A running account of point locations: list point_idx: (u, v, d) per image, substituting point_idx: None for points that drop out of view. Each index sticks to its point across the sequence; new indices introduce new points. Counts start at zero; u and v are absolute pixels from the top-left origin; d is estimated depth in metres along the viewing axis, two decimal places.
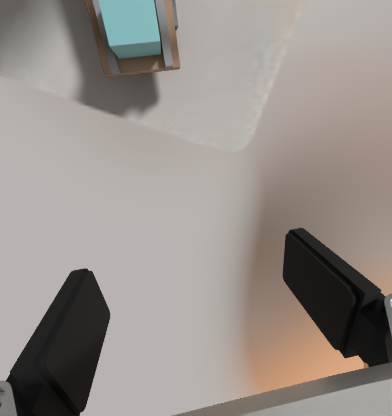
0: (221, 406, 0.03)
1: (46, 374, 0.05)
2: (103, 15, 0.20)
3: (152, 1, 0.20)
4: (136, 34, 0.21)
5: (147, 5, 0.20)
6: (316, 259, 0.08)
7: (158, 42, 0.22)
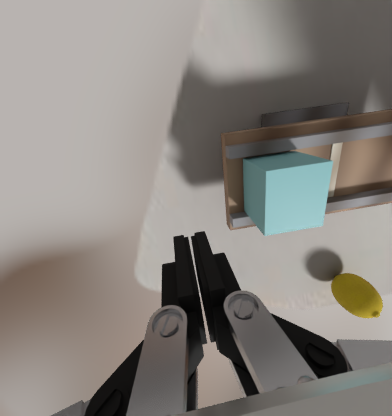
0: (221, 406, 0.03)
1: (197, 303, 0.07)
2: (299, 168, 0.14)
3: (302, 227, 0.17)
4: (274, 208, 0.16)
5: (300, 222, 0.16)
6: (196, 260, 0.08)
7: (262, 231, 0.17)
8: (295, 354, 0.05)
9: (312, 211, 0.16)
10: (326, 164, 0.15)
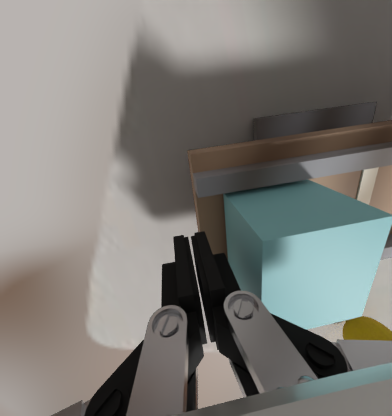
0: (221, 406, 0.03)
1: (197, 303, 0.07)
2: (329, 231, 0.07)
3: (327, 322, 0.09)
4: (279, 299, 0.08)
5: (323, 316, 0.09)
6: (196, 260, 0.08)
7: None
8: (295, 354, 0.05)
9: (346, 298, 0.09)
10: (381, 222, 0.07)
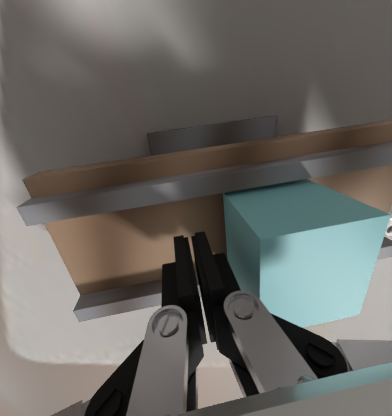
0: (221, 406, 0.03)
1: (197, 303, 0.07)
2: (326, 230, 0.07)
3: (325, 320, 0.09)
4: (277, 297, 0.08)
5: (321, 313, 0.09)
6: (196, 260, 0.08)
7: None
8: (295, 354, 0.05)
9: (344, 296, 0.09)
10: (377, 221, 0.07)
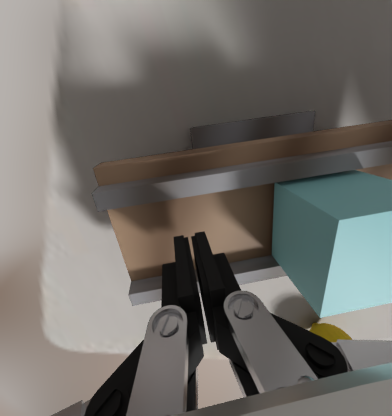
0: (221, 406, 0.03)
1: (197, 303, 0.07)
2: None
3: (382, 302, 0.10)
4: (343, 277, 0.09)
5: (380, 295, 0.10)
6: (197, 260, 0.08)
7: (314, 307, 0.10)
8: (295, 354, 0.05)
9: None
10: None
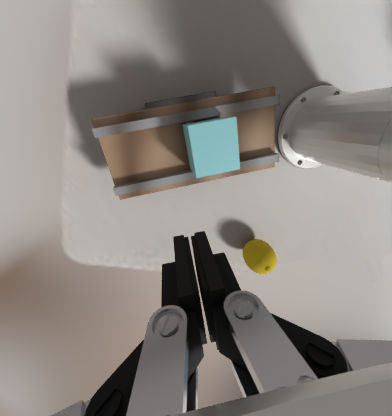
0: (221, 406, 0.03)
1: (197, 303, 0.07)
2: (212, 122, 0.20)
3: (224, 170, 0.22)
4: (199, 154, 0.21)
5: (222, 166, 0.22)
6: (196, 260, 0.08)
7: (195, 175, 0.22)
8: (295, 354, 0.05)
9: (229, 157, 0.22)
10: (231, 119, 0.20)
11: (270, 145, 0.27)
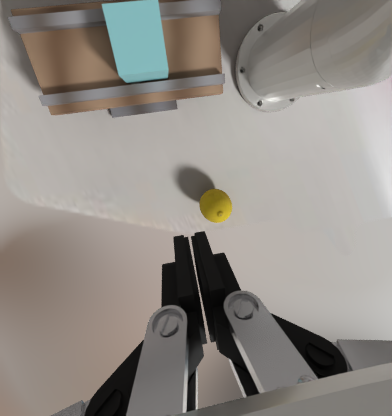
0: (221, 406, 0.03)
1: (197, 303, 0.07)
2: (130, 3, 0.18)
3: (150, 69, 0.20)
4: (119, 45, 0.19)
5: (147, 64, 0.20)
6: (196, 260, 0.08)
7: None
8: (295, 354, 0.05)
9: (154, 52, 0.20)
10: (152, 2, 0.18)
11: (216, 65, 0.25)
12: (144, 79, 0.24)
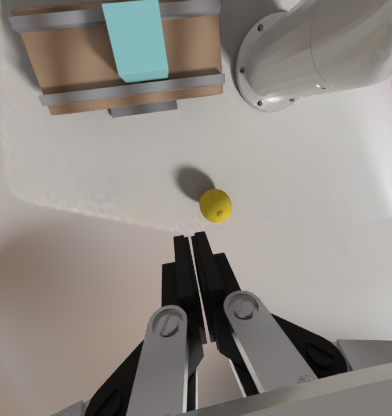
0: (221, 406, 0.03)
1: (197, 303, 0.07)
2: (130, 3, 0.18)
3: (150, 69, 0.20)
4: (119, 45, 0.19)
5: (147, 63, 0.20)
6: (196, 260, 0.08)
7: None
8: (295, 354, 0.05)
9: (154, 52, 0.20)
10: (152, 2, 0.18)
11: (216, 65, 0.25)
12: (144, 79, 0.24)
